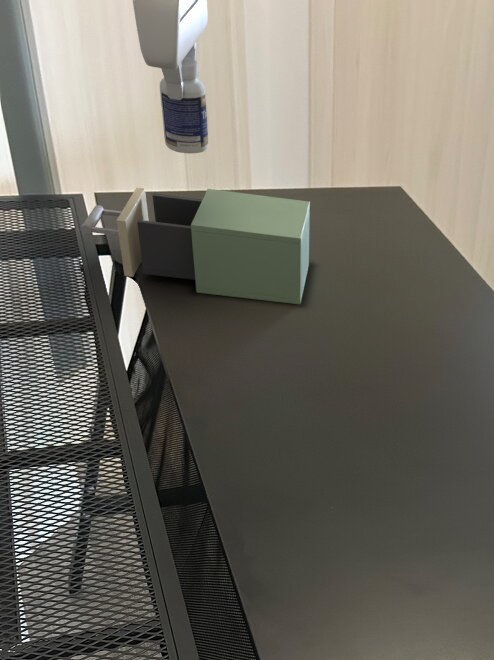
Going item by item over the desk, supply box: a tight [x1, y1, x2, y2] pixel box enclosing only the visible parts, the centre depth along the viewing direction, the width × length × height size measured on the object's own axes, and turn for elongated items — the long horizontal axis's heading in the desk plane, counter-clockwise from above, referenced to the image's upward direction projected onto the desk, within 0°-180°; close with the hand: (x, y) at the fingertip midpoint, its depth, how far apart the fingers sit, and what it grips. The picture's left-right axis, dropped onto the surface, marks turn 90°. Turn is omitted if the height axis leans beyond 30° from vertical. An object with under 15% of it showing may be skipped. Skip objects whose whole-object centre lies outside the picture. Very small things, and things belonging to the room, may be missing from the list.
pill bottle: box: [159, 57, 209, 154], centre depth 106 cm, size 5×5×10 cm
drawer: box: [80, 187, 203, 281], centre depth 121 cm, size 19×11×8 cm, turn 91°
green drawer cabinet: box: [191, 188, 311, 305], centre depth 122 cm, size 15×13×10 cm
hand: (182, 89), depth 105 cm, fingers closed on pill bottle, 5 cm apart
